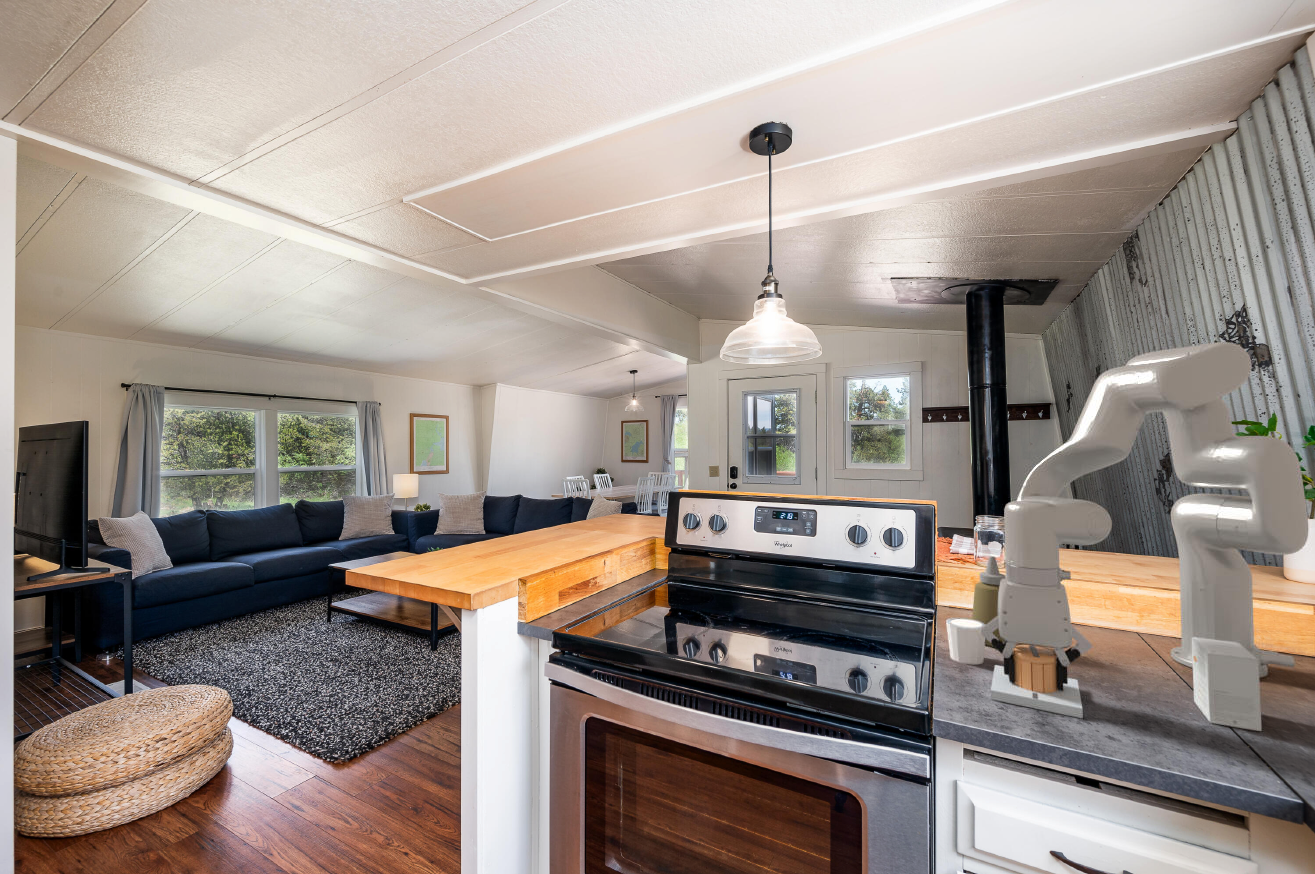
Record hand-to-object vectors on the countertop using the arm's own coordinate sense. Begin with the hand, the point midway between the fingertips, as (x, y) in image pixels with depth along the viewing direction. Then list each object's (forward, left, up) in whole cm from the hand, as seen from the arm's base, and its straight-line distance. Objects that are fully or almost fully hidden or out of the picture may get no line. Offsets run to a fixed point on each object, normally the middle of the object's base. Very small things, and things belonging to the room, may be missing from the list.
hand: (1034, 681), depth 93 cm
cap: (0, 0, 0) cm, 0 cm away
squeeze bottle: (+7, -23, -2) cm, 24 cm away
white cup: (+11, -11, -2) cm, 16 cm away
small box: (-24, -6, -2) cm, 25 cm away
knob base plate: (0, 0, -2) cm, 2 cm away
